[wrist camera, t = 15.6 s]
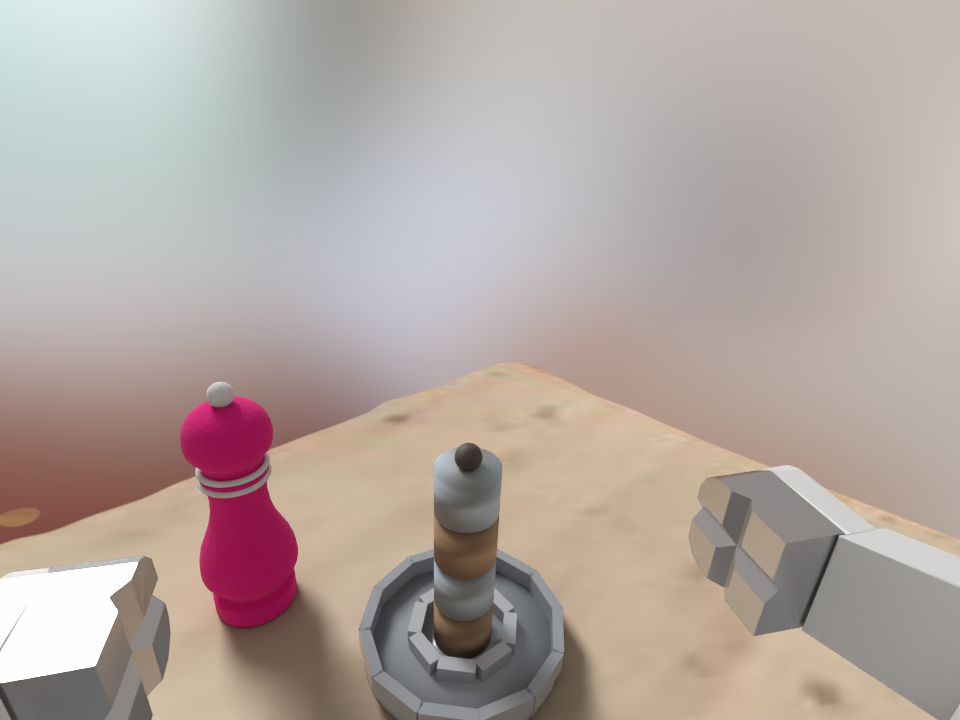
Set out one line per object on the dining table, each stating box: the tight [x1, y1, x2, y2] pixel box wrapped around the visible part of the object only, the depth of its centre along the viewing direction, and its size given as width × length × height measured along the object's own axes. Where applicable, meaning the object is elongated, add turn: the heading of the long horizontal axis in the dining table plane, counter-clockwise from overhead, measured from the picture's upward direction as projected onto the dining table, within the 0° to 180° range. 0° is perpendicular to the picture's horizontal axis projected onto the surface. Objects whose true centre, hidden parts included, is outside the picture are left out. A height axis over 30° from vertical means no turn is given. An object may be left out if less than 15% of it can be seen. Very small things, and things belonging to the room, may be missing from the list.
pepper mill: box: [180, 382, 298, 627], centre depth 42 cm, size 7×7×20 cm
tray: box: [359, 549, 564, 720], centre depth 42 cm, size 15×15×3 cm
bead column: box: [434, 443, 502, 659], centre depth 39 cm, size 4×4×17 cm
